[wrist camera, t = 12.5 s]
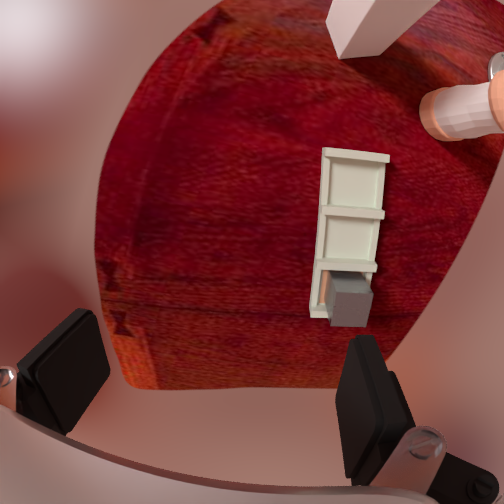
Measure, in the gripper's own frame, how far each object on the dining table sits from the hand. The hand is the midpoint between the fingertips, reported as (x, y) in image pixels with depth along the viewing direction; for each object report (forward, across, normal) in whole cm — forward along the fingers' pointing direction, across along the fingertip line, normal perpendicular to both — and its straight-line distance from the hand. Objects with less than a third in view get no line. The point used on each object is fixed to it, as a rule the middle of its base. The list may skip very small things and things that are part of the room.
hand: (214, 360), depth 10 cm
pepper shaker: (+31, -24, -15) cm, 42 cm away
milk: (+31, -11, -24) cm, 40 cm away
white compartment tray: (+30, -11, +3) cm, 32 cm away
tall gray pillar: (+29, -11, +10) cm, 33 cm away
